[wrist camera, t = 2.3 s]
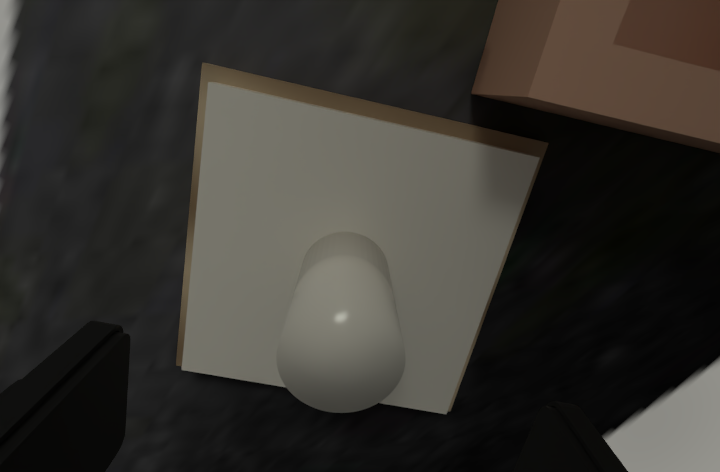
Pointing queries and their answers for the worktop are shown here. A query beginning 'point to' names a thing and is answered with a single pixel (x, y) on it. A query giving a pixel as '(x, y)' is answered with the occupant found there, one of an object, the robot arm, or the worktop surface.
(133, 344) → the worktop surface
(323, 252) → the lid
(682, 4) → the dish
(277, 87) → the mat
